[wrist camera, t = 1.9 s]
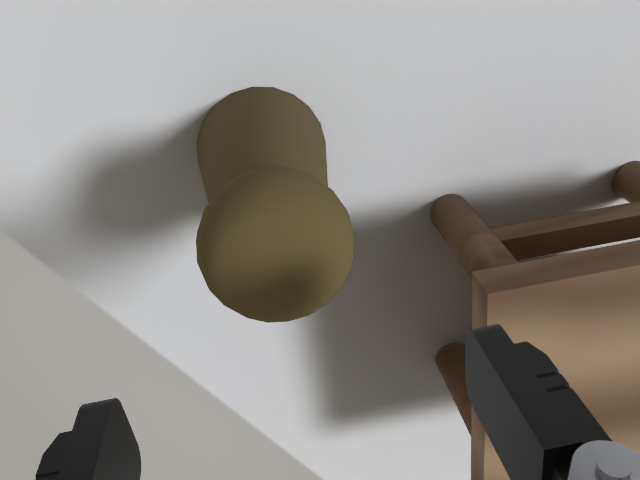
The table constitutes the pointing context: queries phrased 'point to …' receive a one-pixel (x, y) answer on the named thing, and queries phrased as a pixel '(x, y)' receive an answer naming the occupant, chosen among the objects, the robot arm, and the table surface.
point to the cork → (270, 208)
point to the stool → (555, 305)
